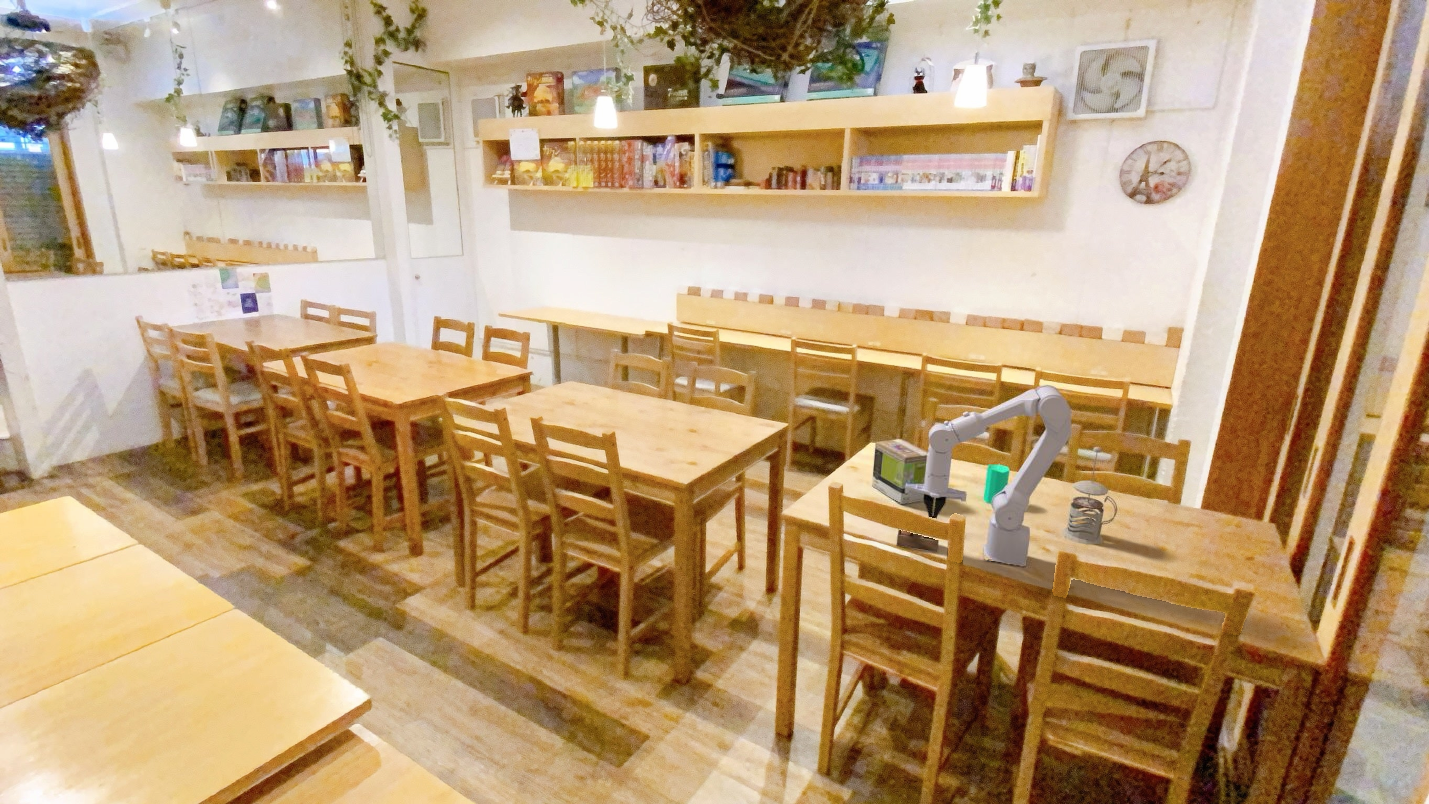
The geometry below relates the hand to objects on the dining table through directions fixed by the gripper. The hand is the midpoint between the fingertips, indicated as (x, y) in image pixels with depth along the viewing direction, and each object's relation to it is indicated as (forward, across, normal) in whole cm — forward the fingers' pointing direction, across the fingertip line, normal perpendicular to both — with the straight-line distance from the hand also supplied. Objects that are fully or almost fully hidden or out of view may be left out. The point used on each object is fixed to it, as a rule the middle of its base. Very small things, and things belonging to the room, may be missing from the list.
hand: (932, 522), depth 174 cm
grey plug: (+4, 0, 0) cm, 4 cm away
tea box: (+7, -10, +32) cm, 34 cm away
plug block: (+7, -3, 0) cm, 8 cm away
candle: (+7, +17, +36) cm, 40 cm away
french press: (+7, +39, +20) cm, 44 cm away
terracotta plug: (+5, -6, 0) cm, 8 cm away
